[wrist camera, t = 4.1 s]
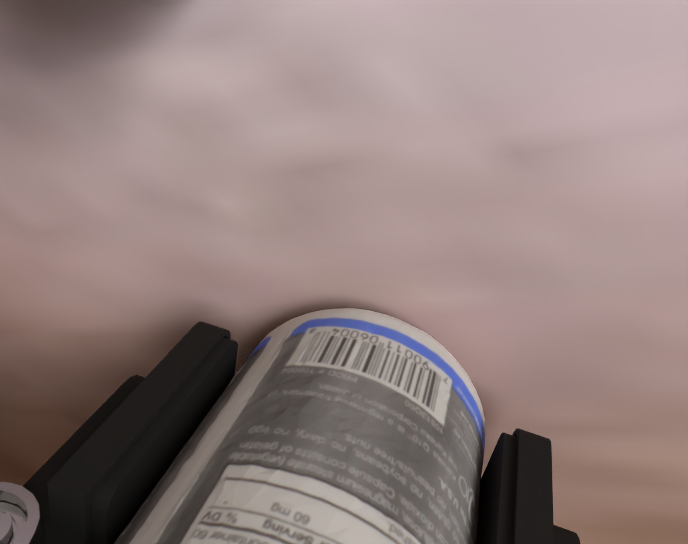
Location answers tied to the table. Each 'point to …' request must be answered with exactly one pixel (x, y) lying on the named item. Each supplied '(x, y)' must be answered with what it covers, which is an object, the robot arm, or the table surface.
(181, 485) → the pill bottle
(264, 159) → the table surface
